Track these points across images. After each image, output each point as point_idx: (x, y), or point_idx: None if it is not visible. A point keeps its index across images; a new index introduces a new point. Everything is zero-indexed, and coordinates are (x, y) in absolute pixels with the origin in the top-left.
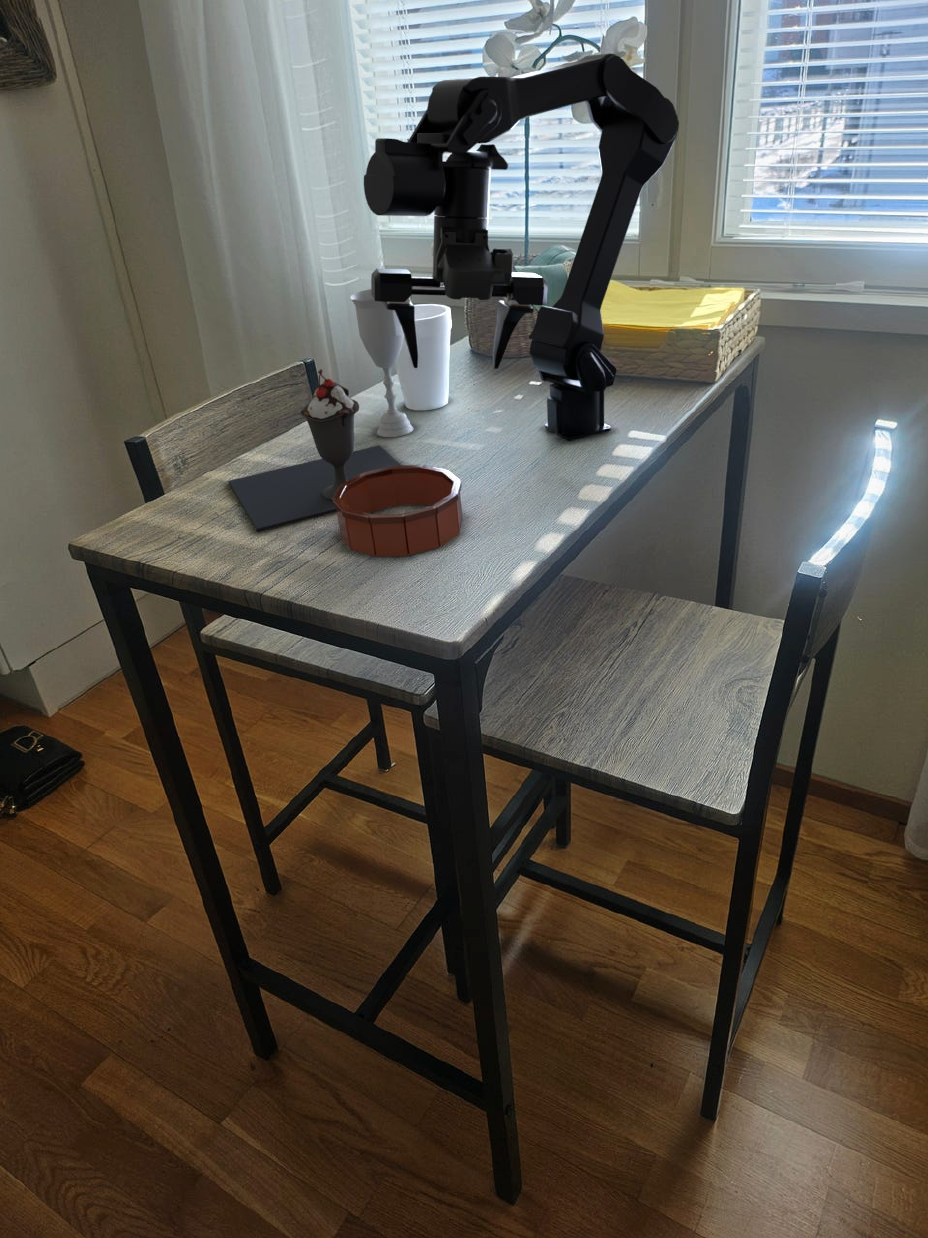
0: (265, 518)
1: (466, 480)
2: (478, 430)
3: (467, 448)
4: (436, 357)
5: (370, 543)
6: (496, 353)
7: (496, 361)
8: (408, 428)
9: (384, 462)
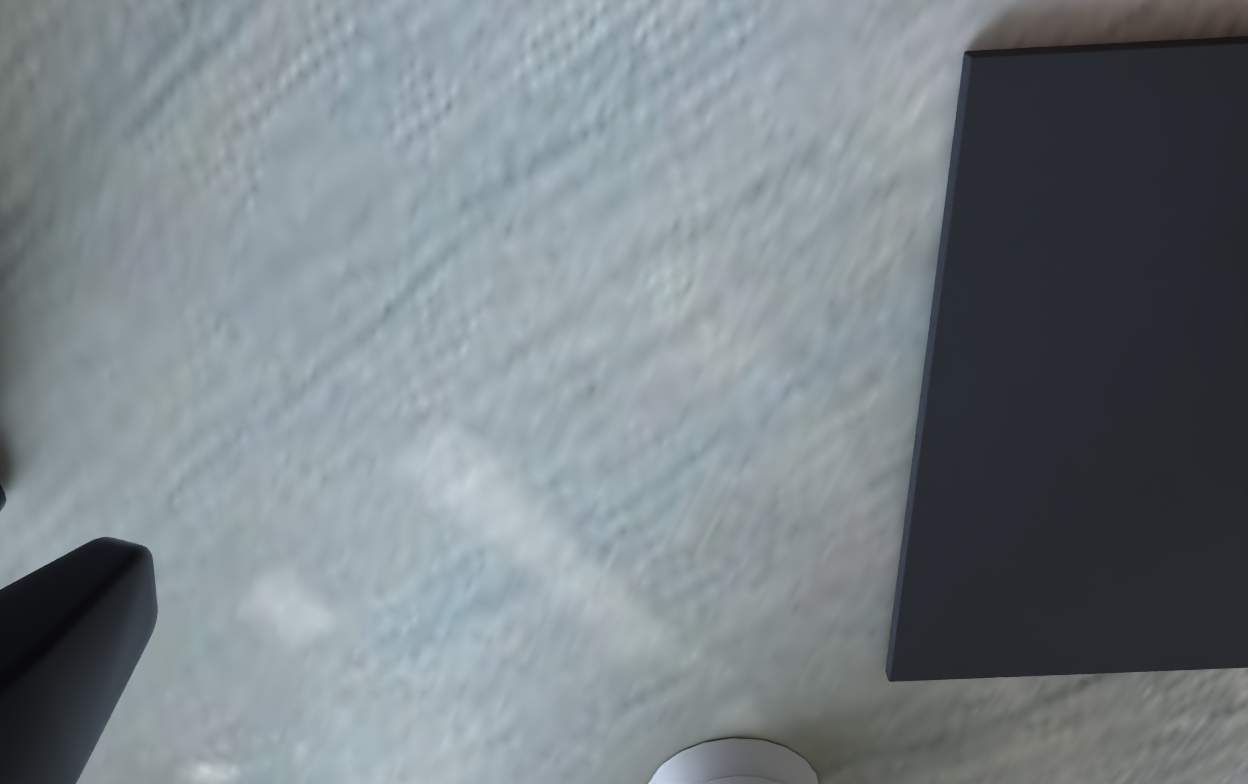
0: None
1: (678, 41)
2: (368, 636)
3: (497, 470)
4: None
5: None
6: (5, 682)
7: (74, 593)
8: (685, 772)
9: (978, 493)
